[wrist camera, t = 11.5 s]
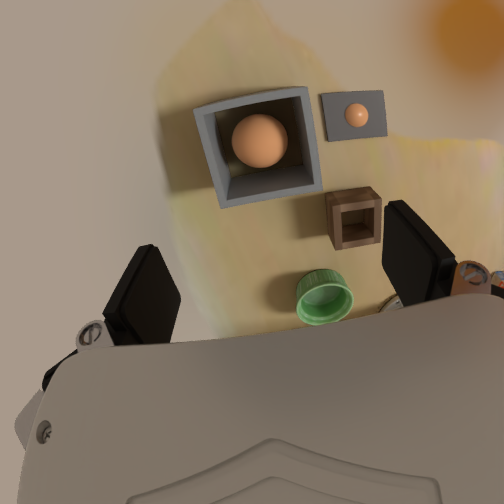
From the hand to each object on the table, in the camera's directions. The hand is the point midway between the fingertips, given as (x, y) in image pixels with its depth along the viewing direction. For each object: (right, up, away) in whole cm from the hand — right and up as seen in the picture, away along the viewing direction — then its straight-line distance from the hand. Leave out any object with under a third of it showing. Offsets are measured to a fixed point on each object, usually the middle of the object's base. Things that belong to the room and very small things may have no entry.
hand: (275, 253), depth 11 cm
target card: (+11, +16, +18) cm, 27 cm away
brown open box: (+12, +6, +25) cm, 29 cm away
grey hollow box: (0, +14, +20) cm, 24 cm away
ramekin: (+10, -6, +33) cm, 35 cm away
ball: (0, +12, +17) cm, 21 cm away
